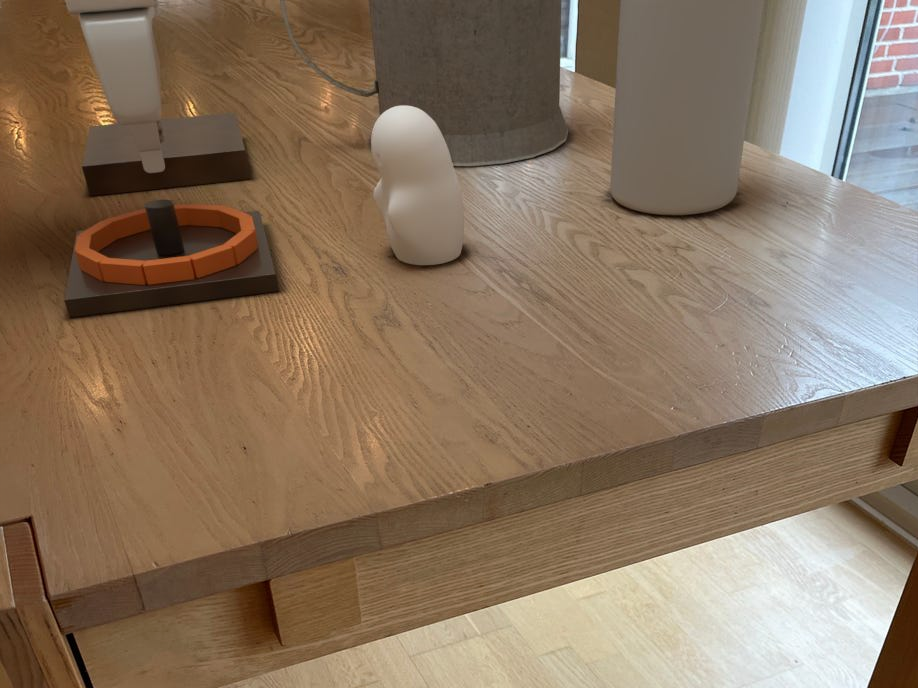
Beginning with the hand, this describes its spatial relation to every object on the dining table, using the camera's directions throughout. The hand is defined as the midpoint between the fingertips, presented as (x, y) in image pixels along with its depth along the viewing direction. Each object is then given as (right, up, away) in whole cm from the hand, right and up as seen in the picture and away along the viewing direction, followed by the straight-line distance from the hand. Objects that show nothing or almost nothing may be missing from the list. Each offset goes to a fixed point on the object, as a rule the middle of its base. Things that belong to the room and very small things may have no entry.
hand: (155, 155), depth 85 cm
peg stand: (+2, -10, 0) cm, 10 cm away
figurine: (+24, -9, +1) cm, 26 cm away
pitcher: (+24, +16, +28) cm, 40 cm away
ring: (+2, -9, -1) cm, 9 cm away
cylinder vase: (+48, +1, +10) cm, 50 cm away
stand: (-6, +11, +24) cm, 27 cm away
